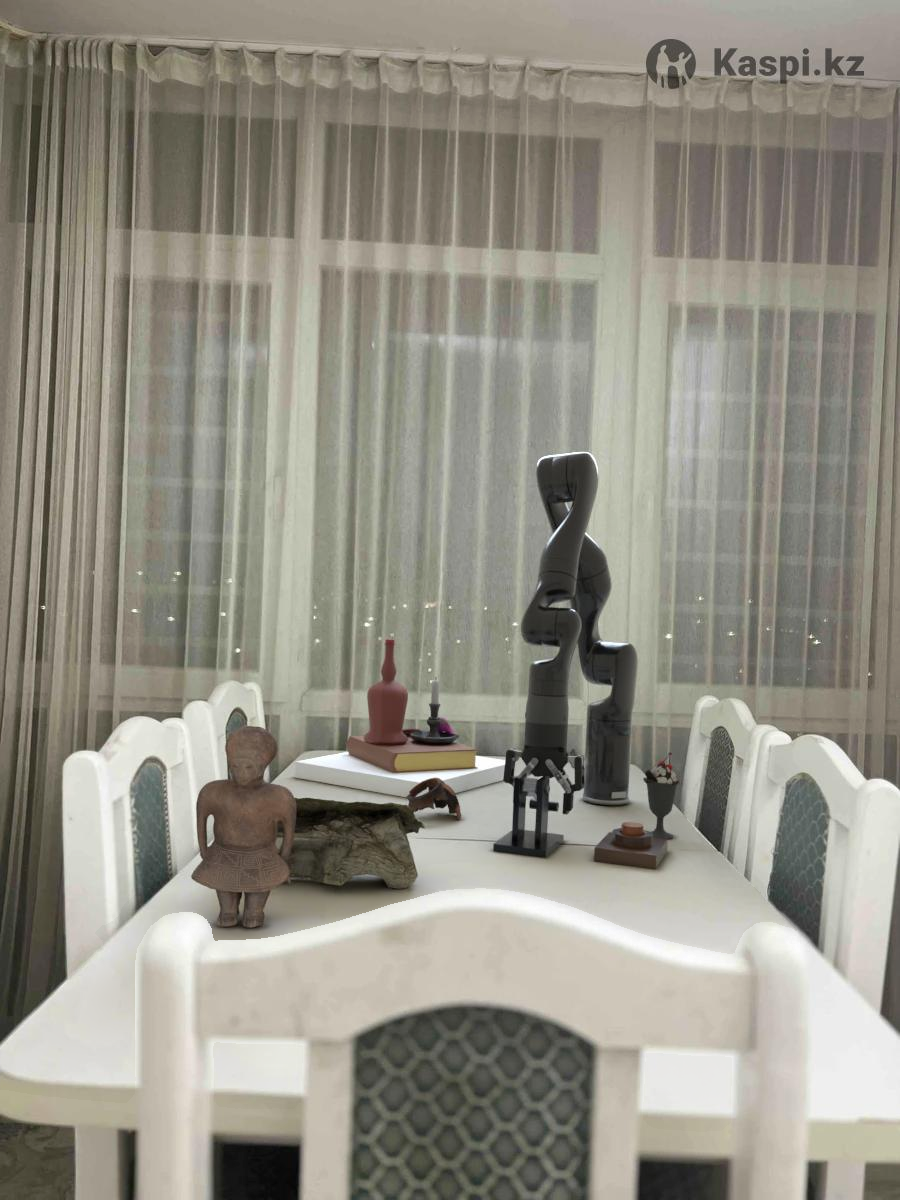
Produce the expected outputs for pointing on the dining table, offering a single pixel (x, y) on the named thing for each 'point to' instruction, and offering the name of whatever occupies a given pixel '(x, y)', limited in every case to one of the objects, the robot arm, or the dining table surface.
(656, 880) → the dining table surface
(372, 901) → the dining table surface
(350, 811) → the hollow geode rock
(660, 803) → the sundae
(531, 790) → the lever
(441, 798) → the brown broken pot shard
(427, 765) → the decorative still life
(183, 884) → the dining table surface
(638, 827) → the button
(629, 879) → the dining table surface
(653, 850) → the button block
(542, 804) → the bracket
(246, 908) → the clay figurine
